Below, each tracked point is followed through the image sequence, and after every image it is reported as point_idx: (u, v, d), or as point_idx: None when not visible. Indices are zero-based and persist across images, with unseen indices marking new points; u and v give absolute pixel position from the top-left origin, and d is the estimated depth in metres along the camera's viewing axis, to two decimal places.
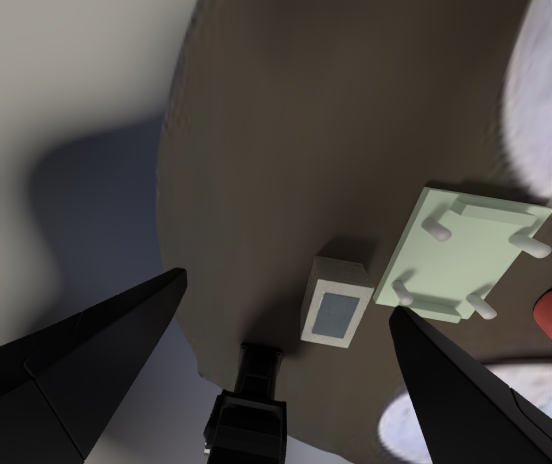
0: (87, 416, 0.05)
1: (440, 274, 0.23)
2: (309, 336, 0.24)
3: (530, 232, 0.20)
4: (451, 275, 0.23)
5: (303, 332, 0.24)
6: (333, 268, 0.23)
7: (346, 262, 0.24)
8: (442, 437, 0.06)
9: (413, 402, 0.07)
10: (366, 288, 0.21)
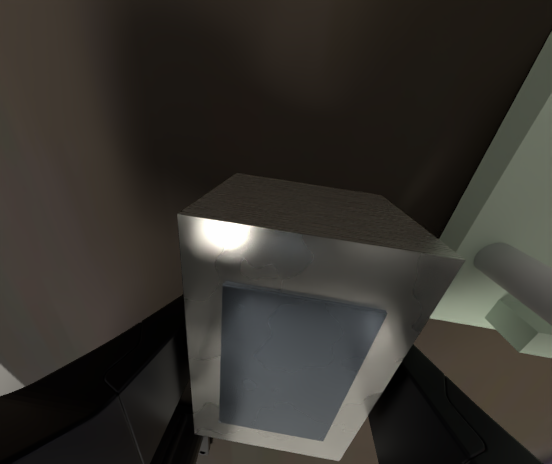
0: (150, 428, 0.05)
1: None
2: (217, 428, 0.08)
3: None
4: None
5: (196, 416, 0.08)
6: (281, 195, 0.06)
7: (332, 190, 0.08)
8: (384, 426, 0.06)
9: None
10: (422, 259, 0.04)
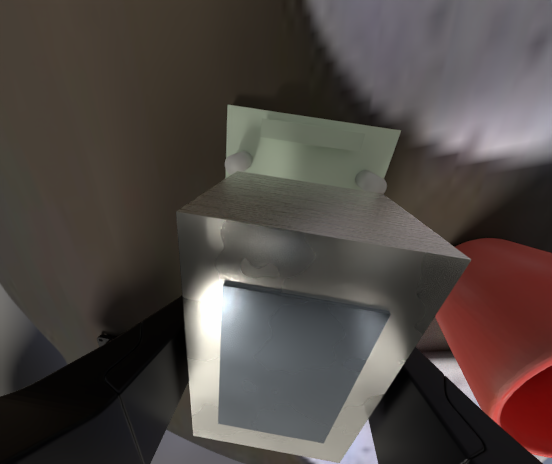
0: (151, 428, 0.05)
1: None
2: (216, 429, 0.08)
3: (380, 168, 0.14)
4: None
5: (195, 418, 0.07)
6: (282, 193, 0.06)
7: (333, 189, 0.07)
8: (383, 426, 0.06)
9: None
10: (426, 259, 0.04)
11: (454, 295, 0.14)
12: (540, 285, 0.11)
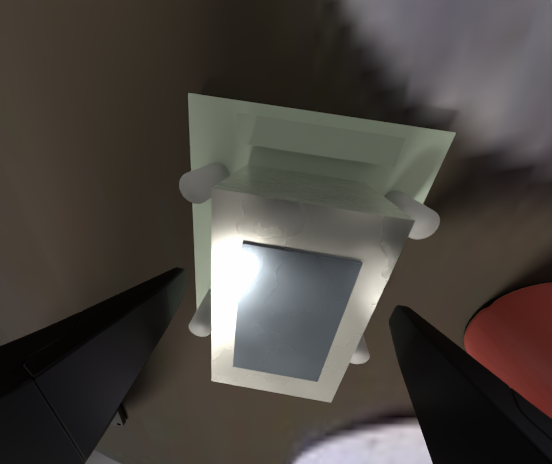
0: (87, 416, 0.05)
1: None
2: (230, 374, 0.09)
3: (418, 188, 0.10)
4: None
5: (213, 363, 0.09)
6: (284, 180, 0.08)
7: (325, 178, 0.09)
8: (442, 437, 0.06)
9: (413, 402, 0.07)
10: (385, 221, 0.06)
11: (528, 377, 0.10)
12: None
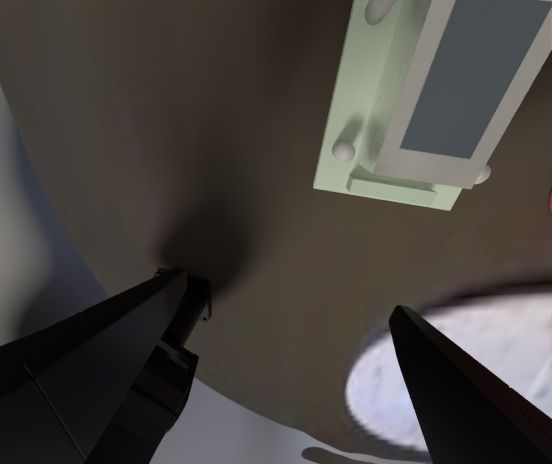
0: (87, 416, 0.05)
1: None
2: (393, 162, 0.12)
3: None
4: None
5: (382, 150, 0.12)
6: None
7: None
8: (442, 437, 0.06)
9: (413, 402, 0.07)
10: None
11: None
12: None
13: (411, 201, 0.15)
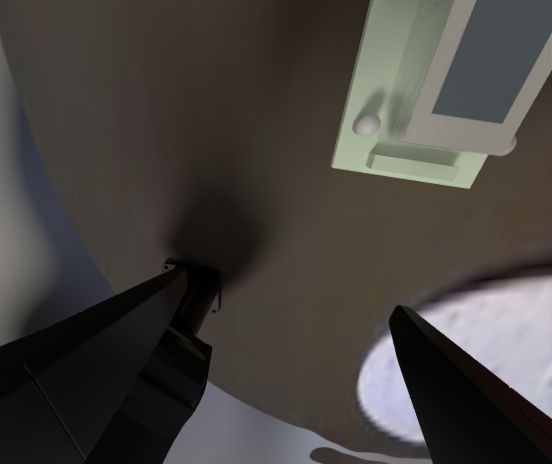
0: (87, 416, 0.05)
1: None
2: (424, 128, 0.12)
3: None
4: None
5: (413, 116, 0.11)
6: None
7: None
8: (442, 437, 0.06)
9: (413, 402, 0.07)
10: None
11: None
12: None
13: (433, 177, 0.15)
